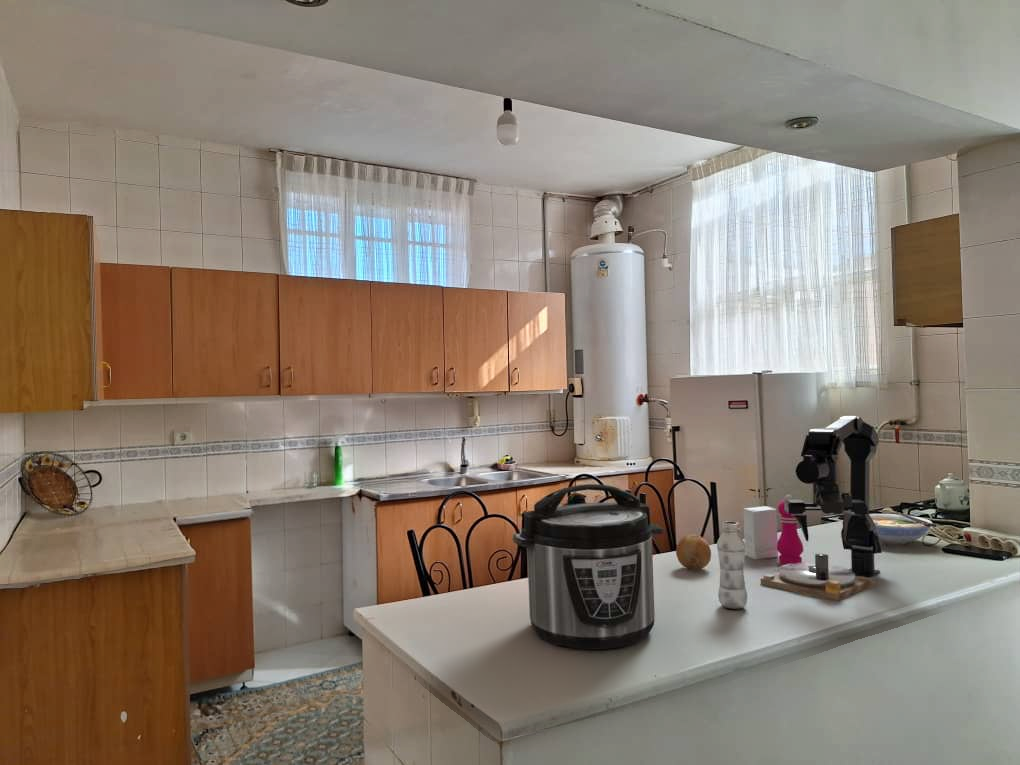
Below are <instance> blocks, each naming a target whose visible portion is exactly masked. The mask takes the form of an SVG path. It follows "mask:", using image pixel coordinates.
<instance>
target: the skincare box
mask: <svg viewBox="0 0 1020 765" xmlns="http://www.w3.org/2000/svg"><path fill="white" fill-rule="evenodd" d="M742 511H743V533H744V539H743V541H744V543H745V556H747V557H749V558H751V559H753V560H760V559H768V558H770V559H771V558H779V552H778V550H777V543H778V540H779V537H778V516H777V514H778V513H777V511H778V509H776V508H774V507H771V506H768V505H764V506H754V507H746V508H745V507H744V508H743V510H742Z"/></svg>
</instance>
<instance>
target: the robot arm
mask: <svg viewBox="0 0 1020 765" xmlns="http://www.w3.org/2000/svg"><path fill="white" fill-rule="evenodd" d="M879 442H880V438H879V435H878V433H877V431H876V429H875V427H873V426H872V425H871V424H868V423H867V422H865V421H864V420H863V419H862V417H860V416H858V415H843V416H840V417H839V419H837V420H836V421H834V422H833V423H831V424H829V425H828V426H826V427H822V428H821V427H820V428H818V427H816V428H812V429H809V431H808V432H807V434H806V436H805V438H804V443H803V446H802V450H801V454H800V457H802V460H801V461H800V462H799V463H798V464H797V466H796V467H795V474H796V478H798V480H799V481H800V482H802V483H803V484H807V485H809V484H811V487H812V499H811V500H812V502H805V501H803V500H802V499H791V500H786V499H785V500H786V501H785V503H784V510H785V511H786V512H787V513H789V514H791V515H792V516H794V517H796V519H797V520H798V522H797V523H798V525H799V526H800V529H801V532H802V534H803V536H804V538H805V541H806V542H809V530H808V522H807V519H808V518H807V517H808V515H807V514H805V512H806V511H821V512H822V513H823V514H826V515H827V514H829V515H830V514H839V515H841V514H843V520H842V529H841V532H840V537H841V542H842V547H843V550H849V551H850V557H851V558H850V562H851V564H850V565H851V566H850V567H851V568H849V570H851V571H852V572H854V574H855V575H859V576H860V575H861V576H865V577H872V576H875V575H877V574H879V573H881V570H879V569H875V555H877V554H881V553H883V552H882V551H883V550H882V549H883V543H882V542H881V540H880V538H879V536H878V534H877V532H876V525H875V523H874V521H873V520H872V518H871V517H870V515H869V514H870V472H871V471H870V462H871V460H872V459H873V458H874V456H875V455H876V453H877V450H878V449H877V448H878V447H877V446H878V445H879ZM842 446H843V450H844V452H845V453H846V456H848V459H849V460H850V482H849V483H850V484H849V485H850V486H849V487H850V488H849V489H850V490H849V492H842V493H840V490H839V488H840V487H839V484H838V471H837V470H838V468H837V466H838V465H837V464H838V463H837V460H838V459H839V457H838V455H839V452H840V450H841V448H842Z"/></svg>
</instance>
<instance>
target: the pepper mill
mask: <svg viewBox="0 0 1020 765" xmlns="http://www.w3.org/2000/svg"><path fill="white" fill-rule="evenodd" d="M786 500H793V497H792V495H790V494H787V495H785V499H784V500H782V501H780V503H779V504H778V506H777V511H778V514H780V516H779V518H780V522H781V527H782V528H781V532H780V535H779V537H778V543H777V550H778V554H780V555H778V563H779V564H781V563H782V564H781V565H784V564H790V563H803V558H802V556H801V555H802V554H803V552H804V546H803V541H802V540H801V538H800V535H799V533H798V528H797V527H798V523H799V522H798V520H797V519H796V517H794V516H792V515H791V514H789V513H787V512H786V511H785V510H784V503H785V501H786Z"/></svg>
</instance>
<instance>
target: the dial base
mask: <svg viewBox="0 0 1020 765" xmlns="http://www.w3.org/2000/svg"><path fill="white" fill-rule="evenodd" d="M760 585H762V586H765V587H766V586H767V587H772V588H775V589H780V590H781V589H782V590H785V591H789V592H794V593H799V594H803V595H808V596H811V597H816V598H820V599H825V600H830V601H834V602H838V601H840V600H842V599H844V598H847V597H849V596H852V595H853V594H855V593H858V592H861V591H863V590H865V589H868V588H870V587H872V586H874V579H873V578H869V577H864V576H863V577H862V576H860V575H859V576H858V575H855V583H854V584H853V585H850V586H847V587H840V582H837V581H832V580H829V581H827V582H826V588H818V587H809V586H802V585H798V584H793V583H790V582H787V581H785V580H783V579H782V578H780V576H779V571H778V572H775V573H772V574H770V573H767V574H766V573H765V574H764V575H763V577H761V578H760Z"/></svg>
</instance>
